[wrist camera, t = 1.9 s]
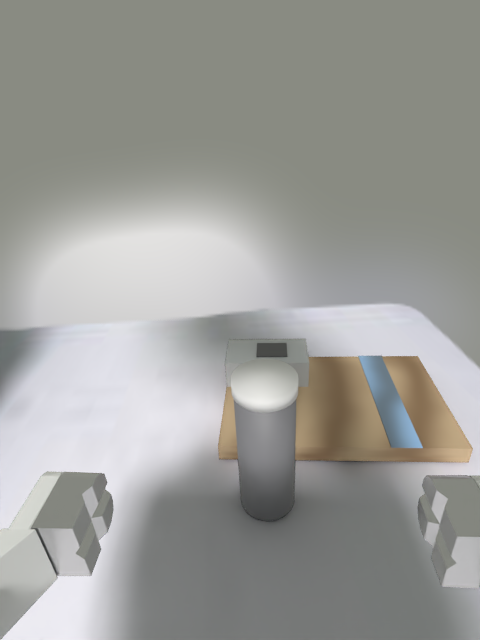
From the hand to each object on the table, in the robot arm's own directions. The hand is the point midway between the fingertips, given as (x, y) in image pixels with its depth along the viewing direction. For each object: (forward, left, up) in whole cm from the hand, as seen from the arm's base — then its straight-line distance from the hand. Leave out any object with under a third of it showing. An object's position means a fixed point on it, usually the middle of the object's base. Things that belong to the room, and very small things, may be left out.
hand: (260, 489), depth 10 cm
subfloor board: (+6, +23, -17) cm, 29 cm away
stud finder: (0, +27, -16) cm, 31 cm away
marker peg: (0, +13, -17) cm, 22 cm away
